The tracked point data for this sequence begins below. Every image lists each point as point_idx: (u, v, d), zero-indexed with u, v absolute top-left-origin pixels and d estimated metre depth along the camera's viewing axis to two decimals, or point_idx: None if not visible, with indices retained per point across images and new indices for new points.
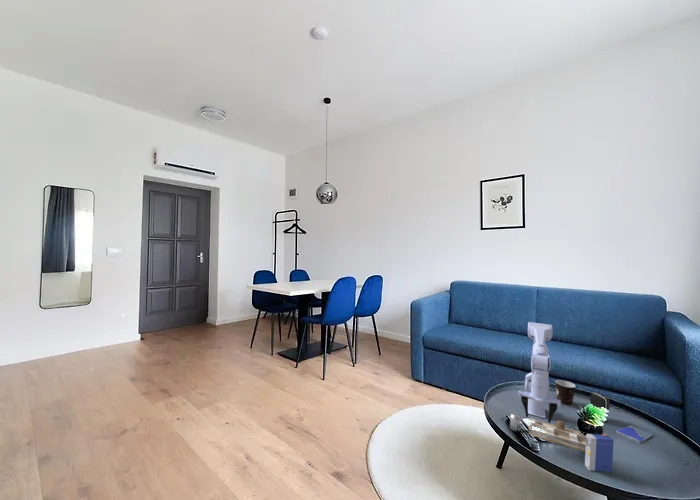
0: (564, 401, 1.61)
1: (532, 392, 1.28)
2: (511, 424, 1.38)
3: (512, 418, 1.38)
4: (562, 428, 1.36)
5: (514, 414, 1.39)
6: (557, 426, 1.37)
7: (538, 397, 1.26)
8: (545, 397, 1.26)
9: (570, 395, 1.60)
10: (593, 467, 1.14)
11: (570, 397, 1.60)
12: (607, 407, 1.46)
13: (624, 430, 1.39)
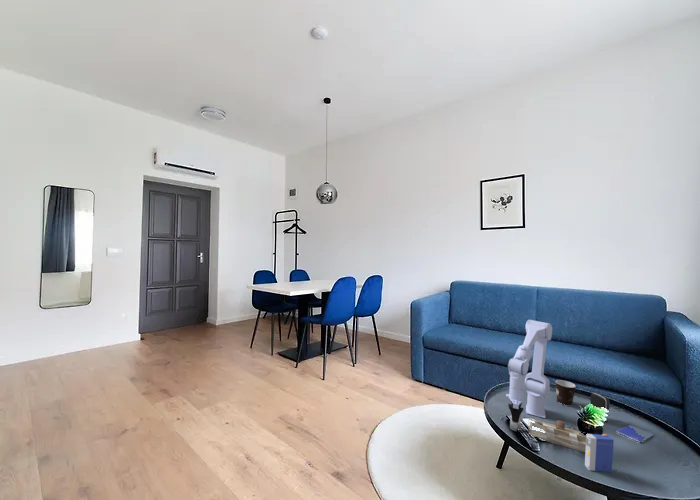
0: (564, 401, 1.61)
1: None
2: (511, 424, 1.38)
3: None
4: (562, 428, 1.36)
5: None
6: (557, 426, 1.37)
7: (509, 393, 1.40)
8: (511, 396, 1.37)
9: (570, 395, 1.60)
10: (593, 467, 1.14)
11: (570, 397, 1.60)
12: (607, 407, 1.46)
13: (624, 430, 1.39)
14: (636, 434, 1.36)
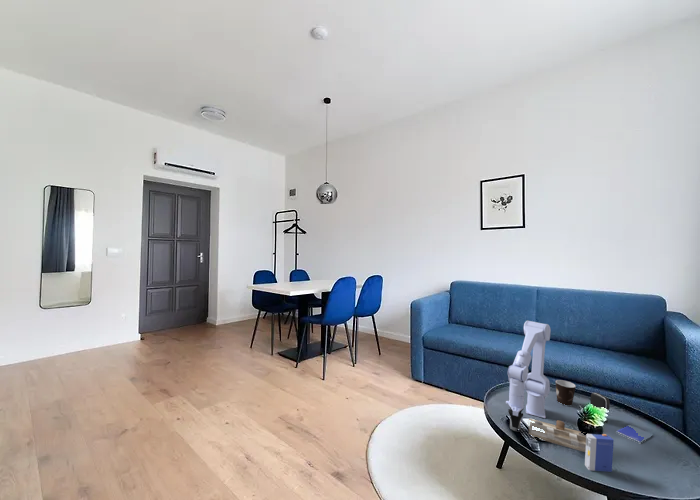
0: (564, 401, 1.61)
1: None
2: (511, 424, 1.38)
3: None
4: (562, 428, 1.36)
5: None
6: (557, 426, 1.37)
7: (509, 400, 1.40)
8: (511, 403, 1.37)
9: (570, 395, 1.60)
10: (593, 467, 1.14)
11: (570, 397, 1.60)
12: (607, 407, 1.46)
13: (624, 430, 1.39)
14: (636, 434, 1.36)
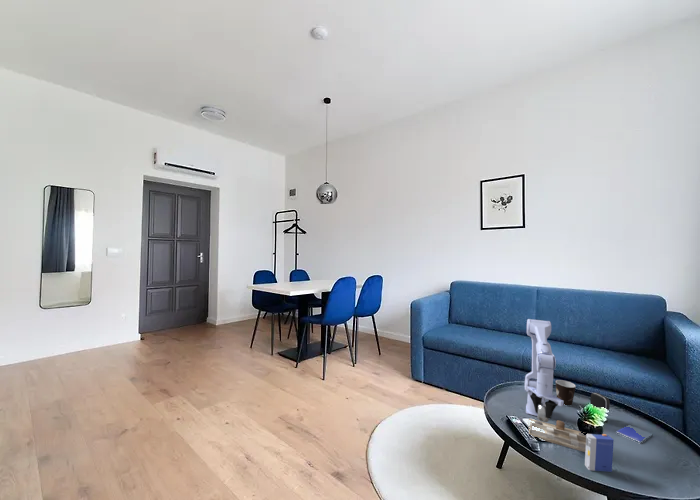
0: (564, 401, 1.61)
1: (536, 388, 1.35)
2: (543, 416, 1.32)
3: (545, 410, 1.32)
4: (562, 428, 1.36)
5: (542, 404, 1.34)
6: (557, 426, 1.37)
7: (539, 393, 1.33)
8: (546, 394, 1.31)
9: (570, 395, 1.60)
10: (593, 467, 1.14)
11: (570, 397, 1.60)
12: (607, 407, 1.46)
13: (624, 430, 1.38)
14: (636, 434, 1.36)
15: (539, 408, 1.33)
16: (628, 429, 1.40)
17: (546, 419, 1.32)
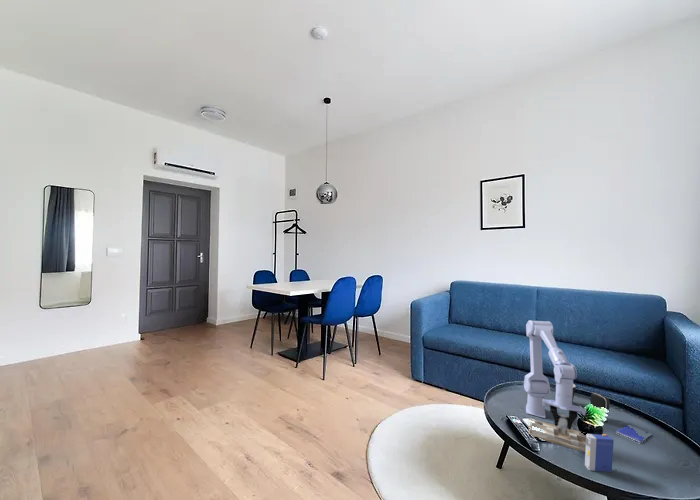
0: None
1: (557, 400, 1.31)
2: (566, 428, 1.29)
3: (567, 421, 1.29)
4: None
5: (562, 416, 1.31)
6: None
7: (563, 406, 1.29)
8: (570, 406, 1.28)
9: None
10: (593, 467, 1.14)
11: None
12: (607, 407, 1.46)
13: (624, 430, 1.38)
14: (636, 434, 1.36)
15: (561, 421, 1.29)
16: (628, 429, 1.39)
17: (567, 430, 1.30)
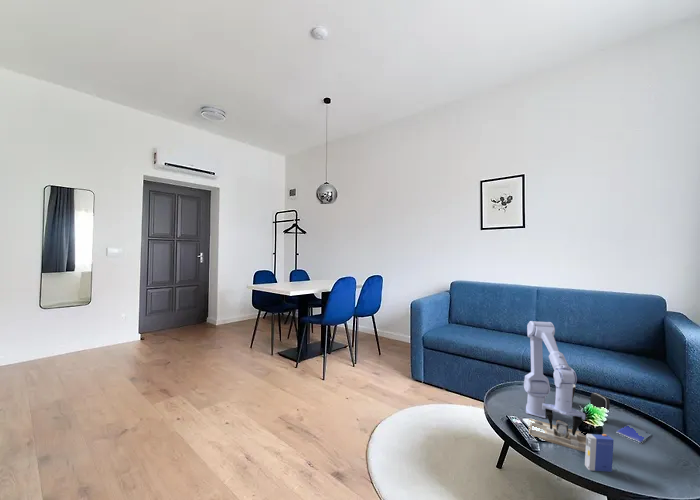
0: None
1: (556, 405, 1.31)
2: (566, 436, 1.29)
3: (567, 429, 1.29)
4: None
5: (561, 424, 1.31)
6: None
7: (563, 410, 1.29)
8: (570, 410, 1.28)
9: None
10: (593, 467, 1.14)
11: None
12: (607, 407, 1.46)
13: (624, 430, 1.38)
14: (636, 434, 1.36)
15: (561, 428, 1.30)
16: (628, 429, 1.39)
17: (567, 438, 1.30)
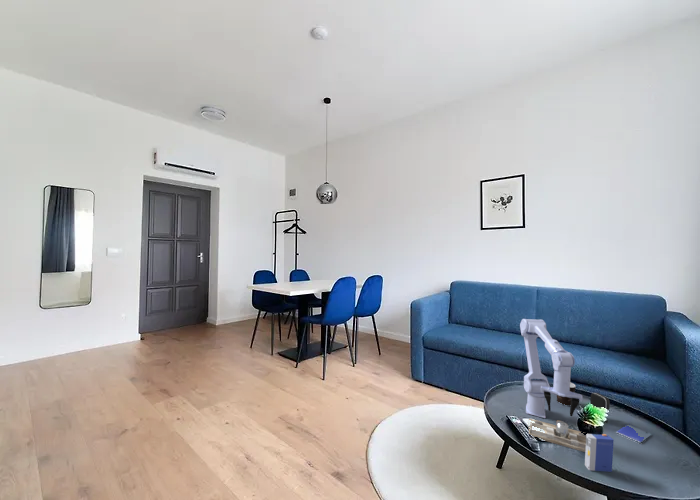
0: (564, 401, 1.61)
1: (555, 387, 1.34)
2: (566, 436, 1.29)
3: (567, 428, 1.29)
4: None
5: (561, 424, 1.31)
6: None
7: (561, 392, 1.32)
8: (567, 392, 1.32)
9: None
10: (593, 467, 1.14)
11: None
12: (607, 407, 1.46)
13: (624, 430, 1.38)
14: (636, 434, 1.36)
15: (561, 428, 1.30)
16: (627, 429, 1.39)
17: (567, 438, 1.30)
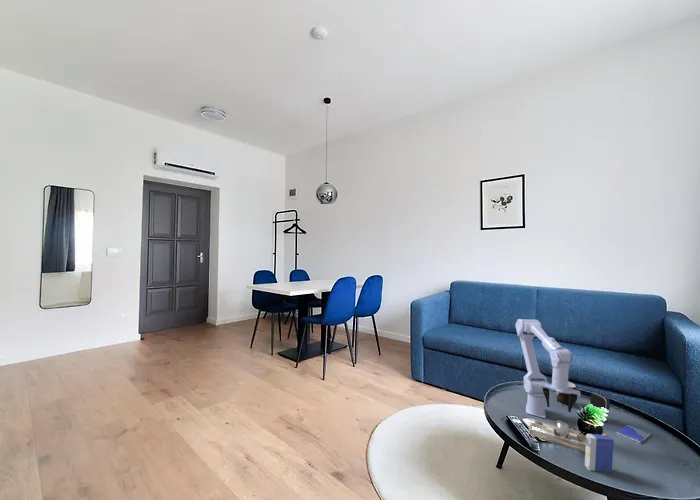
0: (564, 401, 1.61)
1: (553, 384, 1.37)
2: (566, 436, 1.29)
3: (567, 429, 1.29)
4: None
5: (561, 424, 1.31)
6: None
7: (559, 388, 1.35)
8: (566, 388, 1.35)
9: None
10: (593, 467, 1.14)
11: None
12: (607, 407, 1.46)
13: (623, 431, 1.38)
14: (635, 434, 1.36)
15: (561, 428, 1.30)
16: (627, 429, 1.39)
17: (567, 438, 1.30)
